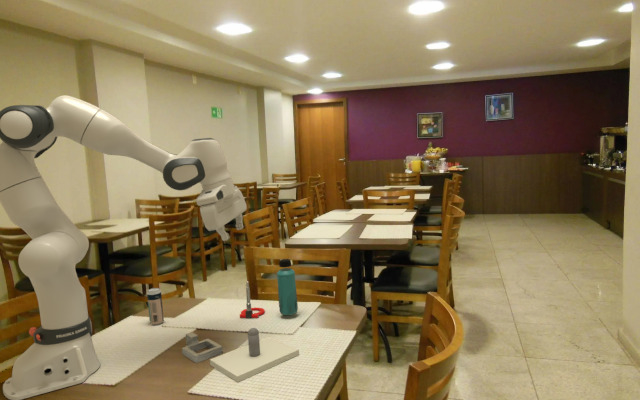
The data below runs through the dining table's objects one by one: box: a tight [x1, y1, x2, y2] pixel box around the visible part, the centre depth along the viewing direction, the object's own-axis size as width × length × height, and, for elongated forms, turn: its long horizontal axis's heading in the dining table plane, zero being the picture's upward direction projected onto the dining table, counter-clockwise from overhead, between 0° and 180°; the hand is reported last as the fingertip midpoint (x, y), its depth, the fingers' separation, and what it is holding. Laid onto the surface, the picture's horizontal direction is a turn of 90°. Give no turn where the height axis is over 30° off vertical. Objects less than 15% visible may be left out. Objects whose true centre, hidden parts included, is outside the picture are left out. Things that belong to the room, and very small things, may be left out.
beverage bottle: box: [276, 258, 299, 316], centre depth 155 cm, size 6×7×20 cm
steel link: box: [181, 331, 224, 364], centre depth 131 cm, size 12×8×4 cm
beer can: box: [146, 287, 165, 326], centre depth 155 cm, size 5×5×12 cm
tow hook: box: [239, 280, 266, 319], centre depth 160 cm, size 8×13×9 cm
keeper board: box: [209, 327, 300, 383], centre depth 123 cm, size 20×14×9 cm
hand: (233, 234), depth 135 cm, fingers open, 8 cm apart
